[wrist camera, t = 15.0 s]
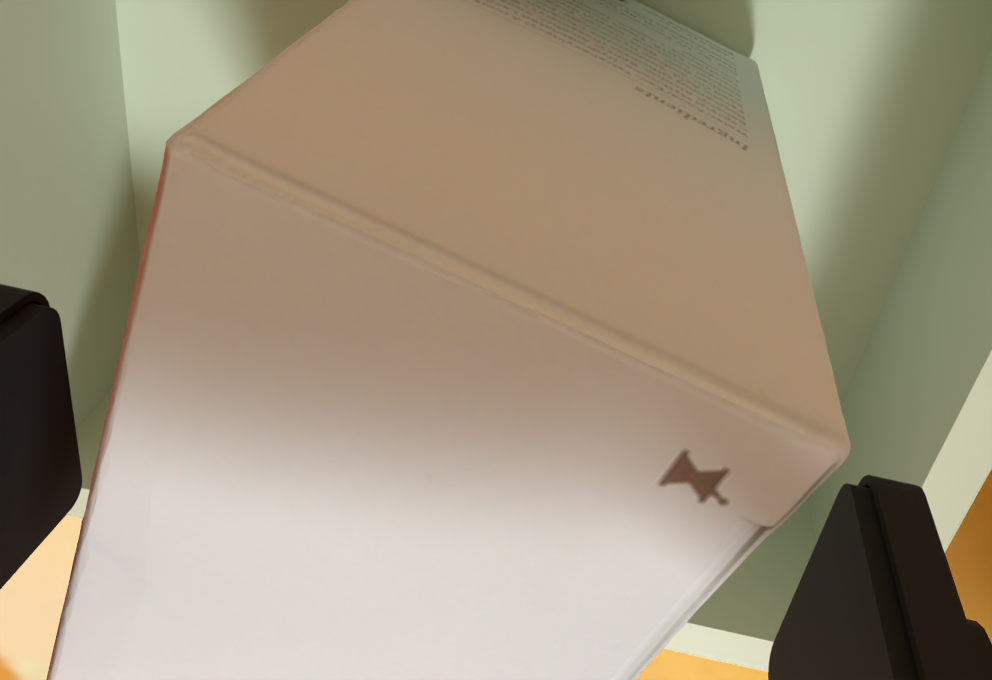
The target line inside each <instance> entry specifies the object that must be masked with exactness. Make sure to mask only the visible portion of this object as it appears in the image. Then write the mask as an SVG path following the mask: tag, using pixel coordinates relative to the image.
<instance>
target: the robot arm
mask: <svg viewBox="0 0 992 680" xmlns="http://www.w3.org/2000/svg"><path fill="white" fill-rule="evenodd" d="M81 487H82V471H81V464H80V457H79V449H78V442H77V435H76V428H75V420H74V413H73V406H72V399H71V391H70V384H69V377H68V369H67V362H66V355H65V348H64V340H63V333H62V326H61V319H60V316H59V313H58V312H57V310H56V309H54V308H52V307H50V305H49V302H48V300H47V299H46V297H45V296H44V295H43V294H41V293H39V292H35V291H30V290H26V289H21V288H17V287H12V286H8V285H3V284H0V589H1V588H2V587H3V586H4V584H5V583H6V582H7V581H8V580H9V579H10V578H11V577H12V575H13V574H14V573H15V572H16V571H17V570H18V569H19V568H20V566H21V565H22V564H23V563H24V562H25V561H26V560H27V558H28V557H29V556H30V555H31V554H32V553H33V552H34V551H35V549H36V548H37V547H38V546H39V545H40V544H41V543H42V541H43V540H44V539H45V538H46V537H47V536H48V535H49V534H50V532H51V531H52V530H53V529H54V528H55V527H56V526H57V525H58V523H59V522H60V521H61V520H62V519H63V518H64V517H65V515H66V514H67V513H68V512H69V511H70V510H71V509H72V507H73V506H74V504H75V503H76V501H77V499H78V497H79V494H80V491H81ZM768 678H769V680H992V645H991V642H990V640H989V638H988V636H987V634H986V632H985V630H984V628H983V627H982V626H981V625H980V624H978V623H977V622H976V621H972V620H968V619H966V617H965V614H964V611H963V608H962V605H961V602H960V599H959V596H958V593H957V590H956V586H955V583H954V580H953V577H952V574H951V571H950V568H949V565H948V562H947V559H946V556H945V553H944V550H943V547H942V544H941V541H940V538H939V535H938V532H937V529H936V525H935V522H934V519H933V516H932V513H931V510H930V507H929V504H928V501H927V498H926V495H925V493H924V491H923V489H922V488H921V487H919V486H918V485H913V484H909V483H904V482H900V481H895V480H891V479H886V478H882V477H877V476H872V475H866V476H864V477H863V478H862V479H861V480H860V482H859V484H858V486H857V485H853V484H848V483H846V484H844V485H843V486H842V487H841V489H840V491H839V492H838V495H837V497H836V499H835V501H834V504H833V506H832V508H831V511H830V513H829V515H828V518H827V520H826V522H825V525H824V527H823V529H822V531H821V534H820V536H819V538H818V541H817V543H816V545H815V548H814V550H813V552H812V555H811V557H810V559H809V561H808V564H807V566H806V568H805V571H804V573H803V575H802V578H801V580H800V582H799V585H798V587H797V589H796V591H795V594H794V596H793V598H792V601H791V603H790V605H789V608H788V610H787V612H786V615H785V617H784V619H783V622H782V624H781V626H780V628H779V631H778V633H777V635H776V638H775V640H774V643H773V645H772V649H771V653H770V659H769V668H768Z"/></svg>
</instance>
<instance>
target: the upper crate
mask: <svg viewBox="0 0 992 680" xmlns="http://www.w3.org/2000/svg"><path fill="white" fill-rule="evenodd" d="M348 1H350V0H0V284H3V285H8V286H12V287H17V288H21V289H26V290H30V291H35V292H39V293H41V294H43V295H44V296H45V297H46V299H47V300H48V302H49V305H50V307H52V308H54V309H56V310H57V312H58V313H59V316H60V319H61V326H62V333H63V340H64V348H65V355H66V362H67V369H68V377H69V384H70V391H71V399H72V406H73V413H74V420H75V428H76V435H77V442H78V449H79V457H80V464H81V471H82V487H81V491H80V494H79V497H78V499H77V501H76V503H75V504H74V506H73V507H72V509H71V510H70V511H69V512H68V513H67V514H66V515H70V516H75V517H79V518H83V517H84V514H85V510H86V505H87V500H88V495H89V491H90V486H91V481H92V477H93V472H94V468H95V464H96V460H97V456H98V452H99V447H100V442H101V437H102V432H103V427H104V422H105V418H106V413H107V409H108V405H109V400H110V396H111V391H112V387H113V382H114V378H115V373H116V369H117V364H118V360H119V356H120V351H121V347H122V343H123V339H124V334H125V330H126V325H127V321H128V316H129V311H130V306H131V302H132V297H133V292H134V287H135V283H136V278H137V273H138V268H139V264H140V260H141V256H142V251H143V247H144V243H145V239H146V235H147V231H148V227H149V222H150V218H151V214H152V209H153V205H154V201H155V196H156V192H157V187H158V183H159V179H160V174H161V170H162V165H163V159H164V153H165V147H166V141H167V140H168V139H169V138H170V137H171V136H172V135H173V134H174V133H175V132H177V131H178V130H180V129H181V128H183V127H184V126H185V125H187V124H188V123H190V122H191V121H193V120H194V119H195V118H197V117H198V116H199V115H201V114H202V113H203V112H204V111H206V110H207V109H208V108H209V107H211V106H212V105H213V104H214V103H216V102H217V101H218V100H220V99H221V98H222V97H224V96H225V95H227V94H228V93H229V92H231V91H232V90H233V89H235V88H236V87H238V86H239V85H240V84H242V83H243V82H244V81H246V80H247V79H248V78H250V77H251V76H252V75H254V74H255V73H256V72H258V71H259V70H261V69H262V68H263V67H264V66H265V65H267V64H268V63H269V62H270V61H271V60H273V59H274V58H275V57H276V56H277V55H279V54H280V53H281V52H283V51H284V50H285V49H286V48H288V47H289V46H290V45H292V44H293V43H294V42H295V41H297V40H298V39H299V38H301V37H302V36H303V35H305V34H306V33H307V32H309V31H310V30H312V29H313V28H314V27H316V26H317V25H319V24H320V23H321V22H323V21H324V20H325V19H326V18H328V17H329V16H330V15H331V14H332V13H334V12H335V11H336V10H338V9H339V8H341V7H342V6H344V5H345V4H346V3H347V2H348ZM635 1H637V2H639V3H641V4H643V5H645V6H647V7H649V8H651V9H653V10H655V11H657V12H659V13H661V14H663V15H665V16H667V17H669V18H671V19H672V20H674V21H676V22H678V23H680V24H682V25H684V26H686V27H688V28H690V29H692V30H694V31H696V32H698V33H700V34H702V35H704V36H706V37H708V38H710V39H712V40H714V41H715V42H717V43H719V44H721V45H723V46H725V47H727V48H729V49H731V50H733V51H735V52H737V53H740V54H742V55H744V56H746V57H748V58H750V59H752V60H754V61H755V62H756V63H757V65H758V69H759V72H760V77H761V81H762V84H763V89H764V93H765V97H766V101H767V105H768V109H769V113H770V118H771V122H772V126H773V130H774V133H775V137H776V141H777V146H778V150H779V154H780V159H781V163H782V167H783V171H784V175H785V179H786V183H787V187H788V191H789V195H790V199H791V203H792V207H793V211H794V215H795V220H796V224H797V228H798V231H799V236H800V241H801V246H802V250H803V253H804V256H805V260H806V264H807V269H808V273H809V277H810V281H811V285H812V289H813V293H814V297H815V301H816V305H817V309H818V314H819V318H820V321H821V325H822V329H823V333H824V336H825V341H826V346H827V351H828V355H829V358H830V362H831V366H832V370H833V374H834V379H835V383H836V388H837V392H838V397H839V401H840V406H841V410H842V413H843V416H844V420H845V423H846V427H847V432H848V436H849V441H850V445H851V447H850V452H849V457H848V458H847V459H846V460H845V461H844V463H843V464H842V465H841V466H840V467H839V468H838V469H837V470H836V471H835V472H834V473H833V474H832V475H831V476H830V477H829V478H828V479H827V480H826V481H825V482H824V483H823V484H822V485H821V486H820V487H818V488H817V489H816V490H815V491H814V492H813V493H812V494H811V495H810V496H809V497H808V498H807V499H806V500H805V501H804V502H803V503H802V505H801V506H800V507H799V508H798V509H797V510H796V511H795V512H794V513H793V514H792V515H791V516H790V517H789V518H788V519H787V520H786V521H785V522H784V523H783V524H782V525H781V526H780V527H779V528H777V529H776V530H775V531H774V532H772V533H771V534H770V535H769V536H767V537H766V538H765V539H764V540H763V541H762V542H761V543H760V544H759V545H758V546H757V547H756V548H755V549H754V550H753V551H752V553H751V554H750V555H749V556H748V557H747V558H746V559H745V560H744V561H743V562H742V563H741V564H740V565H739V566H738V567H737V568H736V570H735V571H734V572H733V573H732V574H731V575H730V576H729V577H728V578H727V579H726V580H725V581H724V582H723V583H722V584H721V586H720V587H719V588H718V589H717V590H716V591H715V592H714V593H713V594H712V595H711V596H710V597H709V598H708V599H707V600H706V602H705V603H704V604H703V605H702V606H701V607H700V608H699V609H698V610H697V611H696V612H695V613H694V615H693V616H692V617H691V618H690V619H689V620H688V622H687V623H686V624H685V625H684V626H683V627H682V628H681V629H680V630H679V631H678V632H677V633H676V634H675V636H674V637H673V638H672V639H671V640H670V641H669V642H668V643H667V645H666V646H665V647H664V648H663V649H667V650H671V651H676V652H680V653H685V654H689V655H693V656H698V657H702V658H707V659H711V660H716V661H720V662H725V663H729V664H734V665H738V666H742V667H747V668H751V669H756V670H760V671H765V672H768V668H769V659H770V653H771V649H772V645H773V643H774V640H775V638H776V635H777V633H778V631H779V628H780V626H781V624H782V622H783V619H784V617H785V615H786V612H787V610H788V608H789V605H790V603H791V601H792V598H793V596H794V594H795V591H796V589H797V587H798V585H799V582H800V580H801V578H802V575H803V573H804V571H805V568H806V566H807V564H808V561H809V559H810V557H811V555H812V552H813V550H814V548H815V545H816V543H817V541H818V538H819V536H820V534H821V531H822V529H823V527H824V525H825V522H826V520H827V518H828V515H829V513H830V511H831V508H832V506H833V504H834V501H835V499H836V497H837V495H838V492H839V491H840V489H841V487H842V486H843V485H844V484H846V483H848V484H853V485H857V486H858V484H859V482H860V480H861V479H862V478H863V477H864V476H866V475H872V476H877V477H882V478H886V479H891V480H895V481H900V482H904V483H909V484H913V485H918V486H919V487H921V488H922V489H923V491H924V493H925V495H926V498H927V501H928V504H929V507H930V510H931V513H932V516H933V519H934V522H935V525H936V529H937V532H938V535H939V538H940V541H941V544H942V547H943V550H944V553H945V552H946V550H947V548H948V546H949V544H950V543H951V541H952V539H953V537H954V535H955V534H956V532H957V530H958V528H959V526H960V525H961V523H962V521H963V519H964V517H965V516H966V514H967V512H968V510H969V508H970V507H971V505H972V503H973V501H974V500H975V498H976V496H977V494H978V492H979V491H980V489H981V487H982V485H983V483H984V482H985V480H986V478H987V476H988V474H989V473H990V471H991V469H992V0H635Z"/></svg>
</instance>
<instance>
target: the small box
mask: <svg viewBox="0 0 992 680" xmlns="http://www.w3.org/2000/svg"><path fill="white" fill-rule="evenodd" d="M850 447H851V445H850V441H849V436H848V432H847V427H846V423H845V420H844V416H843V413H842V410H841V406H840V401H839V397H838V392H837V388H836V383H835V379H834V374H833V370H832V366H831V362H830V358H829V355H828V351H827V346H826V341H825V336H824V333H823V329H822V325H821V321H820V318H819V314H818V309H817V305H816V301H815V297H814V293H813V289H812V285H811V281H810V277H809V273H808V269H807V264H806V260H805V256H804V253H803V250H802V246H801V241H800V236H799V231H798V228H797V224H796V220H795V215H794V211H793V207H792V203H791V199H790V195H789V191H788V187H787V183H786V179H785V175H784V171H783V167H782V163H781V159H780V154H779V150H778V146H777V141H776V137H775V133H774V130H773V126H772V122H771V118H770V113H769V109H768V105H767V101H766V97H765V93H764V89H763V84H762V81H761V77H760V72H759V69H758V65H757V63H756V62H755V61H754V60H752V59H750V58H748V57H746V56H744V55H742V54H740V53H737V52H735V51H733V50H731V49H729V48H727V47H725V46H723V45H721V44H719V43H717V42H715V41H714V40H712V39H710V38H708V37H706V36H704V35H702V34H700V33H698V32H696V31H694V30H692V29H690V28H688V27H686V26H684V25H682V24H680V23H678V22H676V21H674V20H672V19H671V18H669V17H667V16H665V15H663V14H661V13H659V12H657V11H655V10H653V9H651V8H649V7H647V6H645V5H643V4H641V3H639V2H637V1H635V0H350V1H348V2H347V3H346V4H345V5H344V6H342V7H341V8H339V9H338V10H336V11H335V12H334V13H332V14H331V15H330V16H329V17H328V18H326V19H325V20H324V21H323V22H321V23H320V24H319V25H317V26H316V27H314V28H313V29H312V30H310V31H309V32H307V33H306V34H305V35H303V36H302V37H301V38H299V39H298V40H297V41H295V42H294V43H293V44H292V45H290V46H289V47H288V48H286V49H285V50H284V51H283V52H281V53H280V54H279V55H277V56H276V57H275V58H274V59H273V60H271V61H270V62H269V63H268V64H267V65H265V66H264V67H263V68H262V69H261V70H259V71H258V72H256V73H255V74H254V75H252V76H251V77H250V78H248V79H247V80H246V81H244V82H243V83H242V84H240V85H239V86H238V87H236V88H235V89H233V90H232V91H231V92H229V93H228V94H227V95H225V96H224V97H222V98H221V99H220V100H218V101H217V102H216V103H214V104H213V105H212V106H211V107H209V108H208V109H207V110H206V111H204V112H203V113H202V114H201V115H199V116H198V117H197V118H195V119H194V120H193V121H191V122H190V123H188V124H187V125H185V126H184V127H183V128H181V129H180V130H178V131H177V132H175V133H174V134H173V135H172V136H171V137H170V138H169V139H168V140H167V141H166V147H165V153H164V159H163V165H162V170H161V174H160V179H159V183H158V187H157V192H156V196H155V201H154V205H153V209H152V214H151V218H150V222H149V227H148V231H147V235H146V239H145V243H144V247H143V251H142V256H141V260H140V264H139V268H138V273H137V278H136V283H135V287H134V292H133V297H132V302H131V306H130V311H129V316H128V321H127V325H126V330H125V334H124V339H123V343H122V347H121V351H120V356H119V360H118V364H117V369H116V373H115V378H114V382H113V387H112V391H111V396H110V400H109V405H108V409H107V413H106V418H105V422H104V427H103V432H102V437H101V442H100V447H99V452H98V456H97V460H96V464H95V468H94V472H93V477H92V481H91V486H90V491H89V495H88V500H87V505H86V510H85V514H84V517H83V520H82V525H81V530H80V536H79V540H78V544H77V548H76V553H75V557H74V561H73V566H72V571H71V576H70V581H69V585H68V590H67V594H66V598H65V602H64V606H63V610H62V614H61V618H60V623H59V627H58V631H57V636H56V640H55V644H54V649H53V653H52V657H51V662H50V666H49V671H48V675H47V680H635V679H636V678H637V677H638V676H639V675H640V674H641V673H642V672H643V670H644V669H645V668H646V667H647V666H648V665H649V664H650V663H651V662H652V660H653V659H654V658H655V657H656V656H657V655H658V654H659V652H660V651H661V650H662V649H663V648H664V647H665V646H666V645H667V643H668V642H669V641H670V640H671V639H672V638H673V637H674V636H675V634H676V633H677V632H678V631H679V630H680V629H681V628H682V627H683V626H684V625H685V624H686V623H687V622H688V620H689V619H690V618H691V617H692V616H693V615H694V613H695V612H696V611H697V610H698V609H699V608H700V607H701V606H702V605H703V604H704V603H705V602H706V600H707V599H708V598H709V597H710V596H711V595H712V594H713V593H714V592H715V591H716V590H717V589H718V588H719V587H720V586H721V584H722V583H723V582H724V581H725V580H726V579H727V578H728V577H729V576H730V575H731V574H732V573H733V572H734V571H735V570H736V568H737V567H738V566H739V565H740V564H741V563H742V562H743V561H744V560H745V559H746V558H747V557H748V556H749V555H750V554H751V553H752V551H753V550H754V549H755V548H756V547H757V546H758V545H759V544H760V543H761V542H762V541H763V540H764V539H765V538H766V537H767V536H769V535H770V534H771V533H772V532H774V531H775V530H776V529H777V528H779V527H780V526H781V525H782V524H783V523H784V522H785V521H786V520H787V519H788V518H789V517H790V516H791V515H792V514H793V513H794V512H795V511H796V510H797V509H798V508H799V507H800V506H801V505H802V503H803V502H804V501H805V500H806V499H807V498H808V497H809V496H810V495H811V494H812V493H813V492H814V491H815V490H816V489H817V488H818V487H820V486H821V485H822V484H823V483H824V482H825V481H826V480H827V479H828V478H829V477H830V476H831V475H832V474H833V473H834V472H835V471H836V470H837V469H838V468H839V467H840V466H841V465H842V464H843V463H844V461H845V460H846V459H847V458H848V457H849V452H850Z"/></svg>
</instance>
